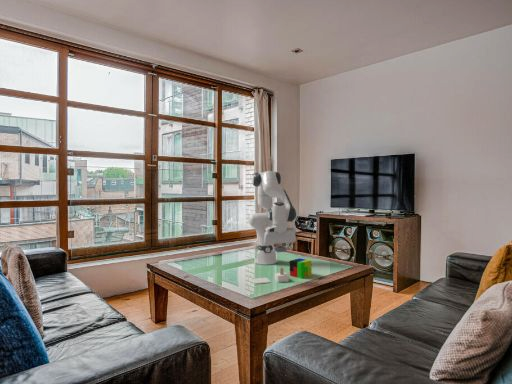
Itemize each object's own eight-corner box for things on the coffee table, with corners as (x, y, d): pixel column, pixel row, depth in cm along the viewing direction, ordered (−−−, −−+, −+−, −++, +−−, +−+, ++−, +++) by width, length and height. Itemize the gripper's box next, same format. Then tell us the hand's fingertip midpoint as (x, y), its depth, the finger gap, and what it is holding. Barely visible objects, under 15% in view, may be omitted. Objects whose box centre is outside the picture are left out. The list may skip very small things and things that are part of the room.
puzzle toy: (300, 272, 226) (299, 258, 226) (311, 275, 218) (311, 260, 218) (290, 275, 219) (289, 260, 219) (301, 278, 212) (301, 263, 212)
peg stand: (274, 279, 212) (274, 266, 212) (285, 278, 213) (285, 266, 213) (277, 282, 205) (277, 269, 205) (288, 281, 206) (288, 268, 206)
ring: (274, 250, 211) (274, 246, 211) (283, 249, 212) (283, 245, 212) (277, 252, 205) (276, 248, 205) (286, 251, 206) (286, 247, 206)
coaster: (251, 279, 212) (251, 278, 212) (266, 278, 214) (266, 277, 214) (254, 284, 203) (254, 283, 203) (270, 282, 205) (270, 281, 204)
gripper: (293, 226, 214) (294, 248, 214) (262, 228, 210) (263, 250, 210) (297, 227, 208) (297, 250, 208) (265, 229, 203) (265, 252, 204)
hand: (280, 250), depth 209 cm, fingers closed on ring, 6 cm apart
